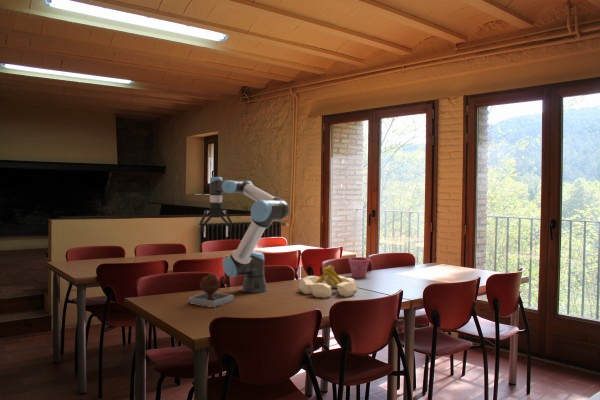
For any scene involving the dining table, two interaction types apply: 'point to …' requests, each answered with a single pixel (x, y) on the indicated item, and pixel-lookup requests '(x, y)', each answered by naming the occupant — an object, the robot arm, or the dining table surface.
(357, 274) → the plant pot
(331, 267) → the campfire
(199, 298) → the tray
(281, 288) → the dining table surface
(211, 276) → the brown model tree
